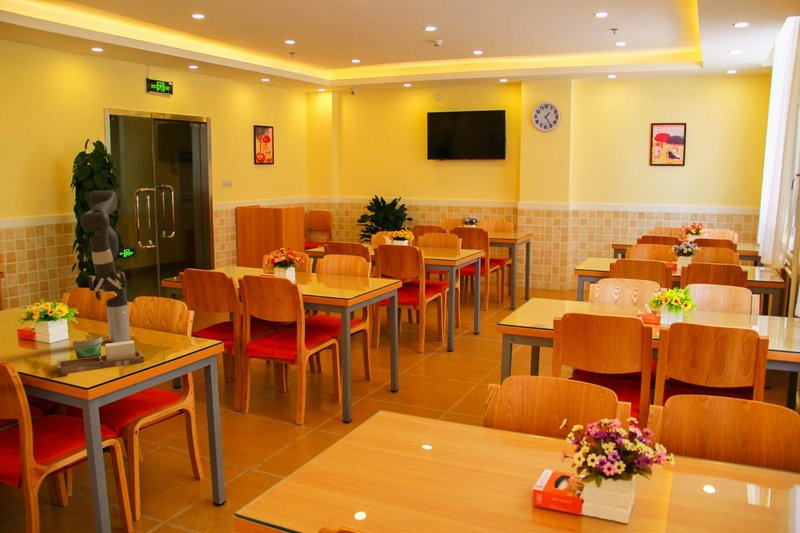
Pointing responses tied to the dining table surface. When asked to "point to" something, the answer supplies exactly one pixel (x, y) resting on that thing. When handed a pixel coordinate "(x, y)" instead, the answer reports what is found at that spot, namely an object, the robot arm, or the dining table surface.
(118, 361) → the rack
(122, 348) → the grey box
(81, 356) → the food container
